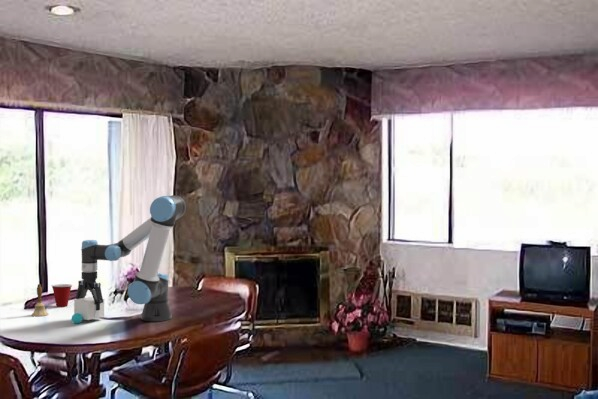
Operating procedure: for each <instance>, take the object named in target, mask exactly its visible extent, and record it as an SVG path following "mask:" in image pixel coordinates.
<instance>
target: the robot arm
mask: <svg viewBox="0 0 598 399" xmlns="http://www.w3.org/2000/svg"><path fill="white" fill-rule="evenodd" d="M186 205H187V204H186V202H185V200H184V199H183V197H180V196H179V195H177V194H176V195H175V194H174V195H163V196H159V197H156V198H154V200H153V201H152V202H151V204H150V206H149V215H150V216H151V217H149V218H148V219H147V220H145V221H144V222H143V223H142V224H140V225H139V226H138V227H136V228H135V229H134V230H132V231H131V232H130V233H128V234H127V235H125V236H124V237H123V238H121V240H119V241H117V242H116V243H115V242H114V243H112V244H111V243H110V244H98V241H97V240H96V239H85V240H83V241H82V242H81V249H80V251H81V279H82V280H78V282H77V283H78V286H77V291H76V296H75V299H80V298H86V295H87V292H88V291H89V292H90V293H91V297H93V299H94V301H95V303H94V317H99V310H100V303H103V299H104V298H103V295H102V288H101V282H97V279H98V261H109V262H114V261H115V262H116V261H119V260H120V258H124V257H127V256H129V255H131V252H132V250H134V249H135V248H137V247H139V245H141V244H142V243H143V242H146V241H147V243H146V248H145V251H144V255H143V258H142V262H141V267H140V269H139V271H137V272H136V273H135V276H134V279H133V281H132V282H131V283H129V285H128V288H127V296H128V297H129V299H130V301H131V302H132V303H134V304H136V305H143V308H142V313H141V314H140V315H141V316H140V319H141V320H142V321H145V322H164V321H169V320H171V319H172V312H171V309H170V305H169V276H168V274H166V273H161V272H160V273H159V270H160V267H161V263H162V259H163V256H164V252H165V248H166V246H167V245H166V244H167V242H168V237H169V234H170V231H171V229H173V228H174V227H175V225H176V221H177V220H178V219H180V218H181V217H183V216H184V214H185V213H186V209H187V206H186ZM99 318H100V317H99Z"/></svg>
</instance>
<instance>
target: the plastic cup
mask: <svg viewBox="0 0 598 399" xmlns="http://www.w3.org/2000/svg"><path fill="white" fill-rule="evenodd" d="M72 286H73V284H66V283H59V284H58V283H57V284H52V285H51V287H52V290H53V296H54V300H55V301H54V302H55V306H56V307H57V308H65V307H68V304H69V300H70V295H71V294H70V293H71V289H72Z"/></svg>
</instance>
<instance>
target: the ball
mask: <svg viewBox="0 0 598 399" xmlns="http://www.w3.org/2000/svg"><path fill="white" fill-rule="evenodd" d="M82 321H83V319H82V315H81V314H79V313H75V314H74V313H73V315H72V316H71V322H73V323H74V324H80V323H81V322H82Z"/></svg>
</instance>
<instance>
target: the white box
mask: <svg viewBox="0 0 598 399" xmlns="http://www.w3.org/2000/svg"><path fill="white" fill-rule="evenodd" d="M73 302H74V303H73V306H74V307H73V308H74V310H73V315H74V314H75V313H79V314H81V315H82V320H87V321H90V320H95V319H98V318H103V317H105V299H104V298H103V303H100V310H99V317H94V303H95V301H94V299H93V296H85V298H80V299H76V298H75V299H74V300H73Z"/></svg>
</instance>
